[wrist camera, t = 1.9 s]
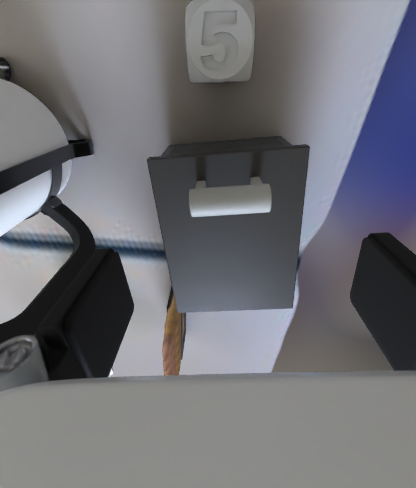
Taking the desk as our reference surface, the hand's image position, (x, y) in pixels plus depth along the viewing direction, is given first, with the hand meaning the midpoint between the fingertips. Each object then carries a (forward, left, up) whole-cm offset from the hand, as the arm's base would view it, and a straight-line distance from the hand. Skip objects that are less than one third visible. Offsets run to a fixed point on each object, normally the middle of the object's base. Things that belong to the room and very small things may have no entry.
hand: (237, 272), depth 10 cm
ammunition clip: (+22, -8, -21) cm, 31 cm away
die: (-9, 0, -21) cm, 23 cm away
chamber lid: (+5, 0, -12) cm, 13 cm away
